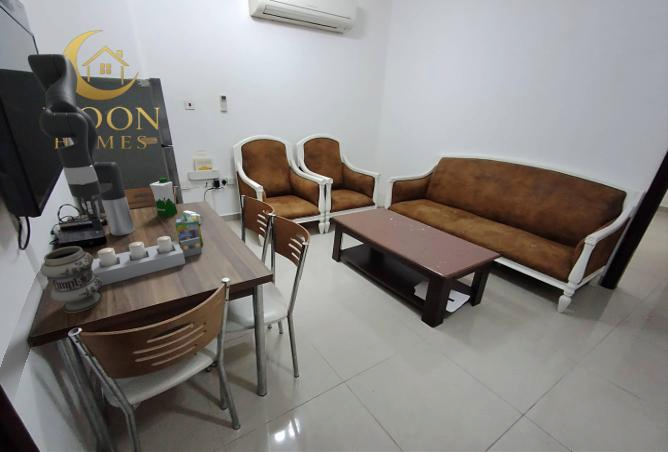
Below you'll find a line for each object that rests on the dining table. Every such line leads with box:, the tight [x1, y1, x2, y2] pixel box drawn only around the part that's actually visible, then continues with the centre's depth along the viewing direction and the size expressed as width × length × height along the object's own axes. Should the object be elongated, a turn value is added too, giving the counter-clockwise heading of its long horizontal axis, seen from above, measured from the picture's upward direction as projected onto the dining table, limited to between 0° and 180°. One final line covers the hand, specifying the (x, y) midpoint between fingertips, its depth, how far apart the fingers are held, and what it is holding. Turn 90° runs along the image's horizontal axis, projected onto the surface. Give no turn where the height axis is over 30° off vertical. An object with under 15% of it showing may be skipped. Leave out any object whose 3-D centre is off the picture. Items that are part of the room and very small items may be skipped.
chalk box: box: [174, 211, 204, 249], centre depth 128 cm, size 9×9×15 cm
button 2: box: [128, 241, 146, 259], centre depth 108 cm, size 5×5×5 cm
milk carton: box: [149, 177, 178, 218], centre depth 157 cm, size 9×9×20 cm
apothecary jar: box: [40, 245, 104, 314], centre depth 88 cm, size 12×12×18 cm
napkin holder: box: [183, 210, 202, 225], centre depth 151 cm, size 15×11×6 cm
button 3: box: [156, 235, 173, 253], centre depth 113 cm, size 5×5×5 cm
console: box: [91, 240, 186, 286], centre depth 110 cm, size 12×28×5 cm, turn 126°
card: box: [180, 237, 203, 258], centre depth 119 cm, size 1×7×7 cm, turn 126°
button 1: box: [97, 247, 118, 267], centre depth 103 cm, size 5×5×5 cm
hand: (98, 230), depth 99 cm, fingers closed
